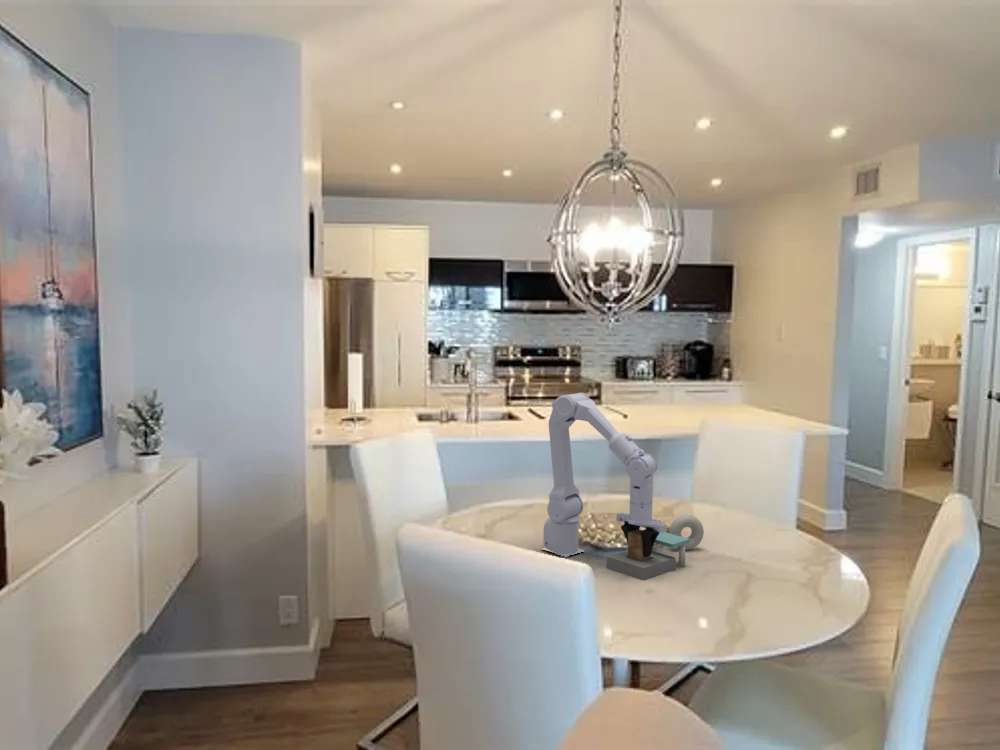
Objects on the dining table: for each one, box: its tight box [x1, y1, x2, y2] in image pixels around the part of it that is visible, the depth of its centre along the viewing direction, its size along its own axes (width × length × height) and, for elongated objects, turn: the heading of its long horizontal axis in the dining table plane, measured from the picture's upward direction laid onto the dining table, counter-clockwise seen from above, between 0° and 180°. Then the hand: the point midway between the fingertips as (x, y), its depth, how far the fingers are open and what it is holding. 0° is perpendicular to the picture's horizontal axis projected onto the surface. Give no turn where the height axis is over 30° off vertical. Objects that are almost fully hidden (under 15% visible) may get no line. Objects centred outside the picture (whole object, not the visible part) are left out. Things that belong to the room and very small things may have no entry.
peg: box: [627, 528, 650, 562], centre depth 192 cm, size 4×4×8 cm
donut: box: [668, 514, 705, 551], centre depth 209 cm, size 10×3×10 cm, turn 97°
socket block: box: [605, 549, 676, 581], centre depth 193 cm, size 12×13×3 cm
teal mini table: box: [654, 531, 690, 568], centre depth 198 cm, size 13×8×7 cm, turn 41°
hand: (639, 553), depth 192 cm, fingers closed on peg, 4 cm apart
